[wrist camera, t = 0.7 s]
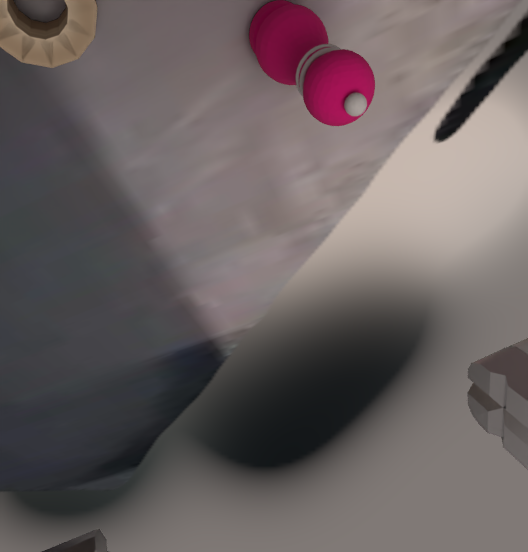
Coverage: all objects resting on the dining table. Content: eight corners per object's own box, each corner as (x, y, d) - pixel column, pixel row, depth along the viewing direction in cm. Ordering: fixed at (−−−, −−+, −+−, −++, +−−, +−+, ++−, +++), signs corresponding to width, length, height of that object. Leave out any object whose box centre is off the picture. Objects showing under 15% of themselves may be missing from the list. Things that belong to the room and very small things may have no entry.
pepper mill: (249, 74, 54) (319, 161, 40) (239, 2, 49) (315, 74, 35) (310, 59, 55) (399, 138, 41) (306, -13, 50) (406, 50, 36)
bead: (17, -95, 39) (14, -87, 36) (112, -8, 45) (118, 6, 42) (-41, -4, 42) (-49, 12, 39) (56, 67, 48) (56, 87, 44)
